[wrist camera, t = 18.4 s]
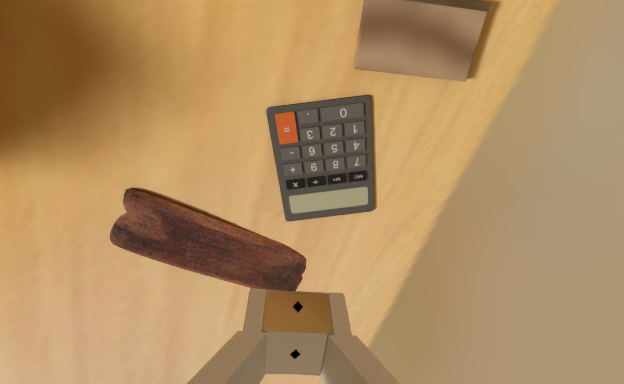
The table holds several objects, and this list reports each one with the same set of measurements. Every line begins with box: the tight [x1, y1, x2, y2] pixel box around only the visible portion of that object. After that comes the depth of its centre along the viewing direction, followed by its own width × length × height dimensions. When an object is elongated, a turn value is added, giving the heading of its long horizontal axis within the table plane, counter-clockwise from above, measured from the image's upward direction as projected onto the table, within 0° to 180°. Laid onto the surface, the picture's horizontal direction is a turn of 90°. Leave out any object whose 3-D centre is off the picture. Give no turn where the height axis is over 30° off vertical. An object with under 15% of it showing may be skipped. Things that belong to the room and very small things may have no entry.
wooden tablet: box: [110, 188, 306, 291], centre depth 45 cm, size 26×2×10 cm
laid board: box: [354, 0, 490, 81], centre depth 33 cm, size 7×12×1 cm, turn 84°
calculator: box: [267, 95, 374, 221], centre depth 40 cm, size 12×1×15 cm
